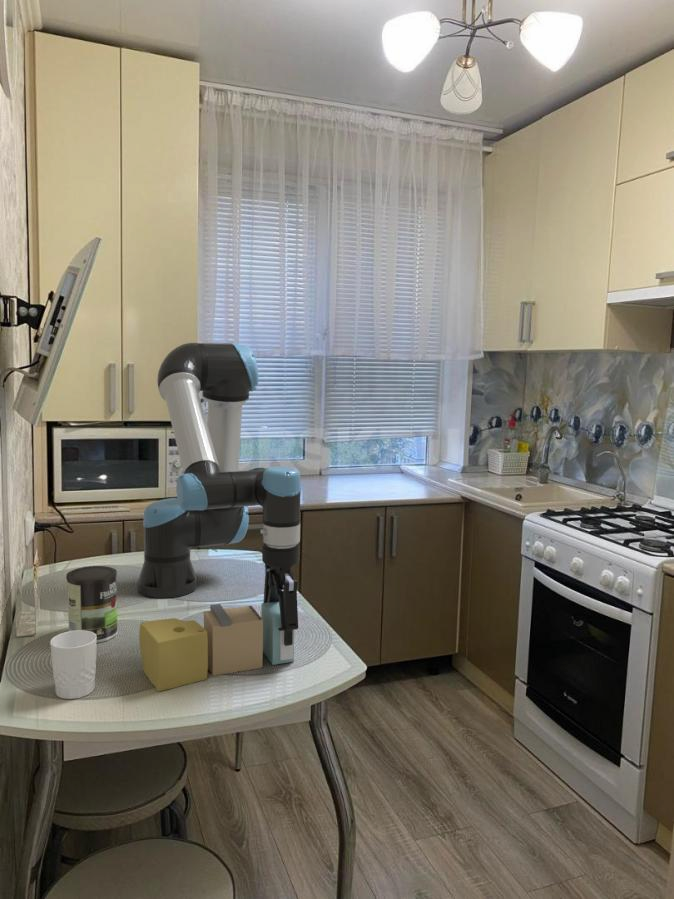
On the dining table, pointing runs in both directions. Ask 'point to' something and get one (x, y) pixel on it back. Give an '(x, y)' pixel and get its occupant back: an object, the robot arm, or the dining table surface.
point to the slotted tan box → (233, 639)
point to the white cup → (74, 663)
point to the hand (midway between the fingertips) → (279, 649)
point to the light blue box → (272, 632)
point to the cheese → (173, 652)
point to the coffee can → (93, 601)
